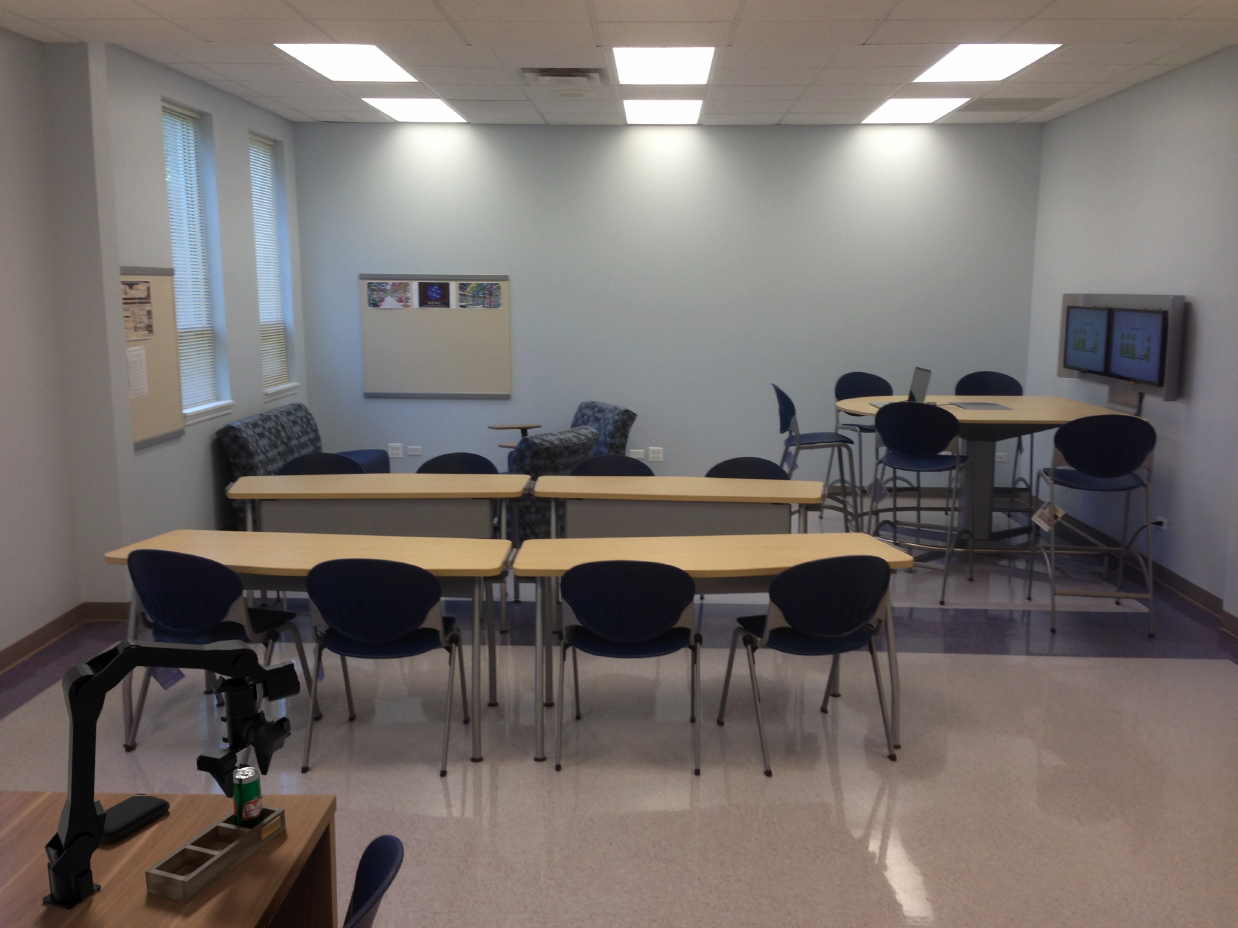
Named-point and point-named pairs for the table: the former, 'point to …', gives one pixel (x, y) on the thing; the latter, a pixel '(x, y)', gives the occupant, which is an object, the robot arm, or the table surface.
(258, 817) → the soda can
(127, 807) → the carrying case or bag
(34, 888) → the table surface
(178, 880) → the can rack
